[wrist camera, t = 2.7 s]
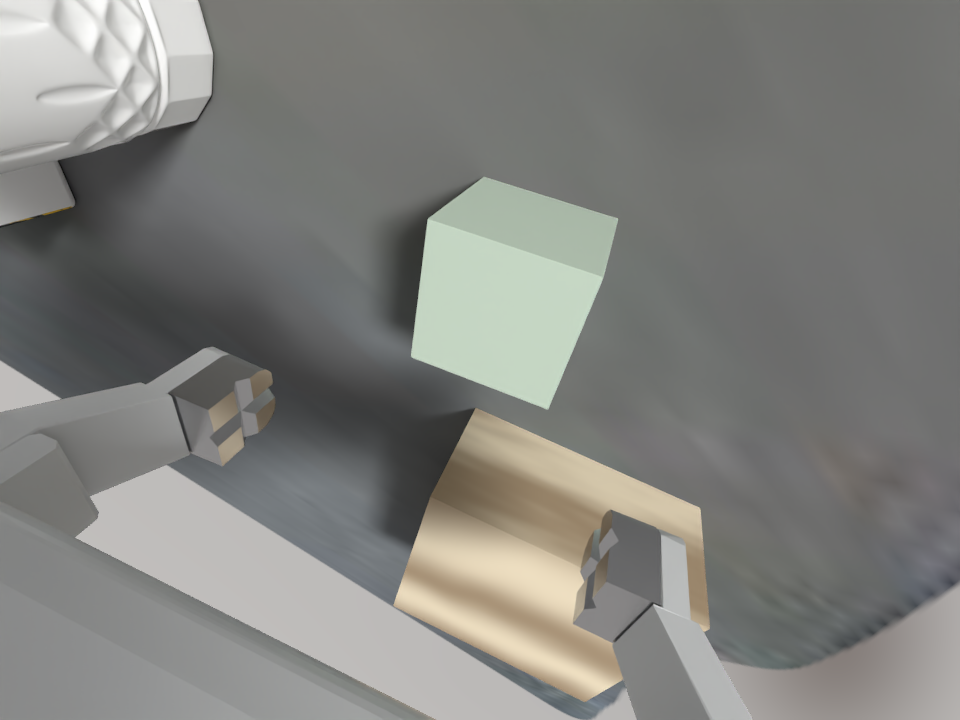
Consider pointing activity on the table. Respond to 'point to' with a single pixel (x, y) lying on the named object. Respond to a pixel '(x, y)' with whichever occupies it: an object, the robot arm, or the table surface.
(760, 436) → the table surface
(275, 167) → the table surface
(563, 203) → the sage cube
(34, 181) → the medicine bottle
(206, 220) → the table surface
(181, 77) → the white cup
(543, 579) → the beech block
